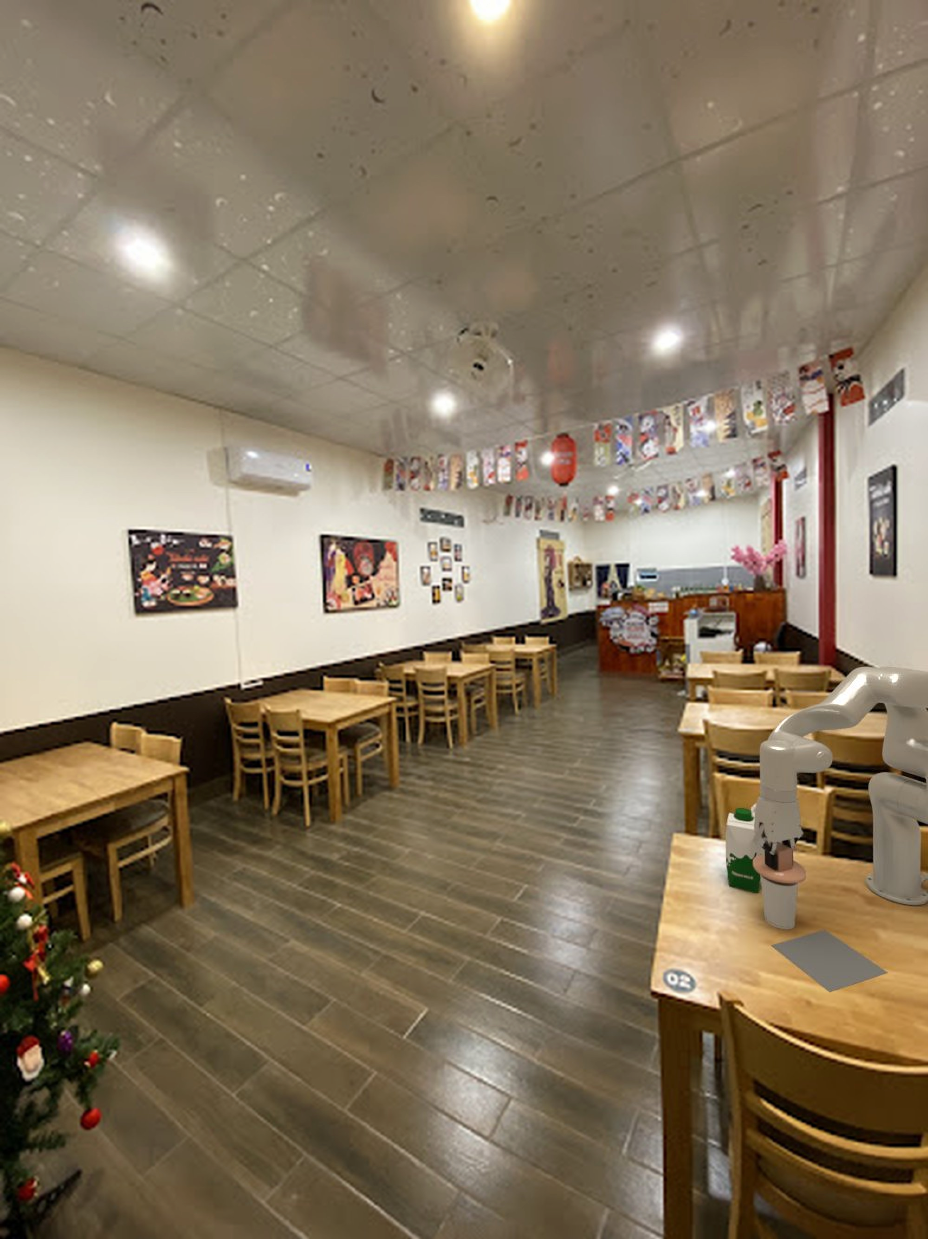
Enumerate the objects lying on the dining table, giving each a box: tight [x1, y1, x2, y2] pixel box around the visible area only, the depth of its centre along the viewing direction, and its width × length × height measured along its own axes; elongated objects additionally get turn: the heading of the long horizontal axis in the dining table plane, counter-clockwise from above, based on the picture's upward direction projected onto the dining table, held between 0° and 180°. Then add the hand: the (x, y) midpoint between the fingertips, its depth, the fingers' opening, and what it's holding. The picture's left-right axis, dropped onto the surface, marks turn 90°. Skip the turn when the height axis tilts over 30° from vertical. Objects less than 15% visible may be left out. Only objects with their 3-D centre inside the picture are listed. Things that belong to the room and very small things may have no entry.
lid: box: [753, 842, 807, 884], centre depth 122 cm, size 11×11×6 cm
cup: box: [760, 875, 799, 930], centre depth 123 cm, size 8×8×12 cm
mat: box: [770, 929, 889, 993], centre depth 110 cm, size 16×14×1 cm
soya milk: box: [724, 807, 762, 894], centre depth 139 cm, size 9×9×20 cm
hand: (778, 864), depth 122 cm, fingers closed on lid, 4 cm apart
